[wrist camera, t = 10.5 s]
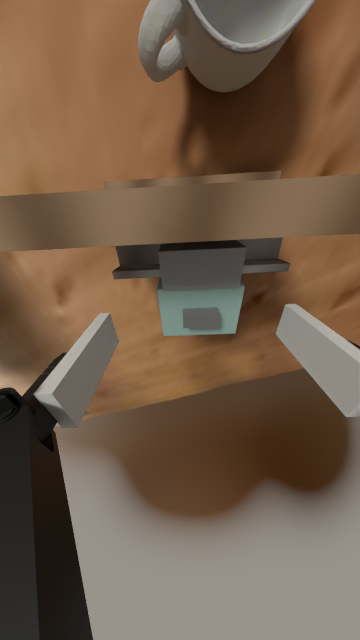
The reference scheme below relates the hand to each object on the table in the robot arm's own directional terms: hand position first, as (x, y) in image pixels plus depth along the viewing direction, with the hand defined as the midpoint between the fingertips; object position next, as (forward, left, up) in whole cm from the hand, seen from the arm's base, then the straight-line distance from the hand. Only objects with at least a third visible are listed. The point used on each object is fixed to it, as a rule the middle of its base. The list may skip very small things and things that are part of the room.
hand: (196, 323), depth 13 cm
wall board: (0, +7, -15) cm, 17 cm away
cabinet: (0, +2, -11) cm, 11 cm away
